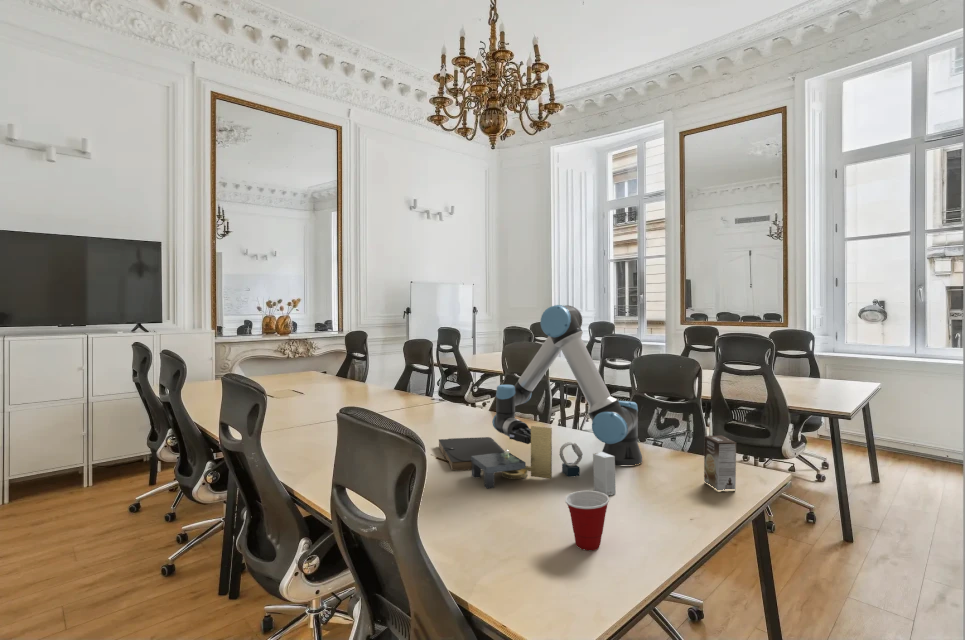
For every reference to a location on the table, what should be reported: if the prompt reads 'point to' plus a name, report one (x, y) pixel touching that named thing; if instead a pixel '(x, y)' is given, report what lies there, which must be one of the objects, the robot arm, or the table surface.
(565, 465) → the watch
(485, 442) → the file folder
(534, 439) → the brass panel with base
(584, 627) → the table surface
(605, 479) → the skincare box
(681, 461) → the table surface
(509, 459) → the levelling stand
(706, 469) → the coffee box
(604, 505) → the plastic cup
